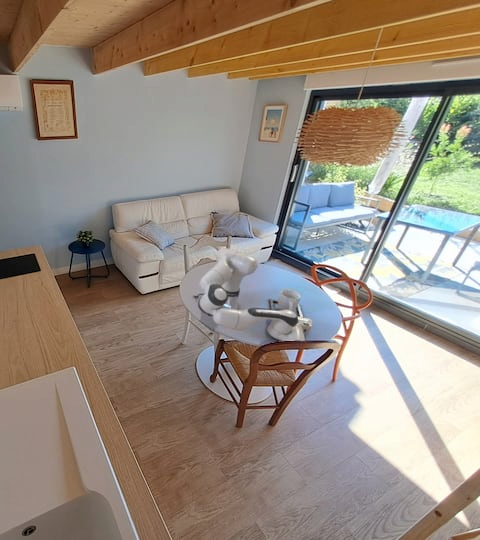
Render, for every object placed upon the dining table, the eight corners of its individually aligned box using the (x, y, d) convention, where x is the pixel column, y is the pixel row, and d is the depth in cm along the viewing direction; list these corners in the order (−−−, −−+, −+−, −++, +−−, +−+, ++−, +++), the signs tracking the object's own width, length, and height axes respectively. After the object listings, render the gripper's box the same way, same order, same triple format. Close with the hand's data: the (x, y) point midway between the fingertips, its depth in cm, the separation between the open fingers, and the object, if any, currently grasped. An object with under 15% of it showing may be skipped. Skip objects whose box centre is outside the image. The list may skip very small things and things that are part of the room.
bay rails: (271, 313, 180) (271, 312, 180) (269, 300, 193) (270, 298, 192) (302, 319, 175) (303, 318, 174) (298, 305, 187) (299, 304, 187)
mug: (297, 321, 174) (304, 304, 167) (277, 318, 177) (283, 300, 170) (292, 307, 186) (298, 290, 180) (274, 304, 189) (279, 287, 183)
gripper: (271, 326, 166) (270, 312, 177) (311, 335, 160) (307, 320, 171) (274, 318, 163) (272, 304, 174) (315, 326, 156) (310, 311, 168)
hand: (290, 312), depth 172 cm, fingers closed, pressing on mug
